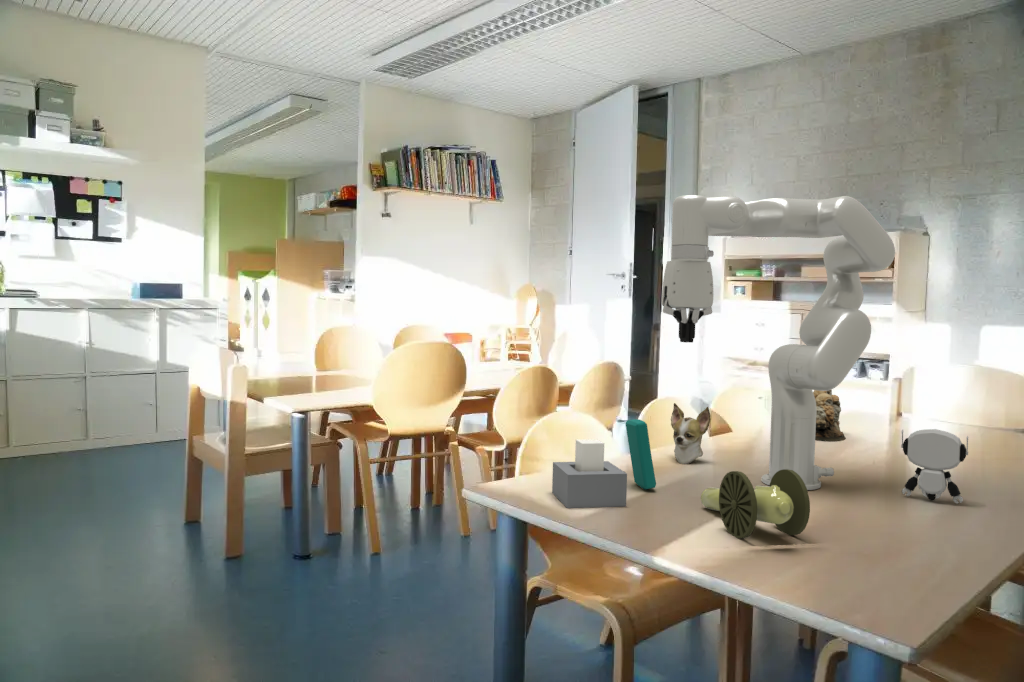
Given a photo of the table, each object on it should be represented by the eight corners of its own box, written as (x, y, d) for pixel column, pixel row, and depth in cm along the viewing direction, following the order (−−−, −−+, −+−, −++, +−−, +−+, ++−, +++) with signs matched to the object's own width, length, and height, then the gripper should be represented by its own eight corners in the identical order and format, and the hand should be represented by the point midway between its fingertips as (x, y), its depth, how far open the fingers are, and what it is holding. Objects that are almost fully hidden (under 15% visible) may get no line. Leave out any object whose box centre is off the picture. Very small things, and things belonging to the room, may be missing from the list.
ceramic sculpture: (658, 463, 190) (660, 404, 190) (675, 459, 197) (677, 401, 196) (697, 470, 183) (699, 409, 183) (713, 465, 190) (715, 406, 189)
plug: (595, 487, 156) (597, 439, 155) (602, 492, 151) (604, 443, 151) (574, 487, 155) (575, 439, 154) (580, 493, 150) (582, 443, 150)
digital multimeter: (646, 492, 159) (659, 489, 160) (635, 422, 159) (648, 420, 160) (634, 486, 167) (646, 483, 167) (623, 420, 166) (636, 417, 167)
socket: (607, 491, 160) (607, 461, 160) (626, 506, 148) (627, 473, 148) (552, 492, 158) (552, 462, 157) (567, 508, 146) (567, 474, 146)
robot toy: (966, 502, 157) (970, 431, 157) (964, 507, 154) (968, 434, 153) (901, 493, 164) (904, 424, 164) (897, 497, 161) (901, 427, 160)
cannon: (681, 509, 148) (683, 451, 147) (735, 506, 151) (737, 450, 150) (753, 549, 124) (755, 480, 123) (815, 545, 126) (818, 478, 126)
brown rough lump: (841, 448, 218) (843, 389, 217) (798, 443, 225) (800, 386, 224) (851, 440, 233) (853, 385, 233) (811, 435, 240) (813, 382, 239)
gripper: (714, 257, 164) (711, 341, 165) (649, 255, 161) (646, 340, 162) (730, 255, 157) (727, 343, 157) (662, 252, 154) (659, 342, 155)
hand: (686, 341), depth 160 cm, fingers closed
